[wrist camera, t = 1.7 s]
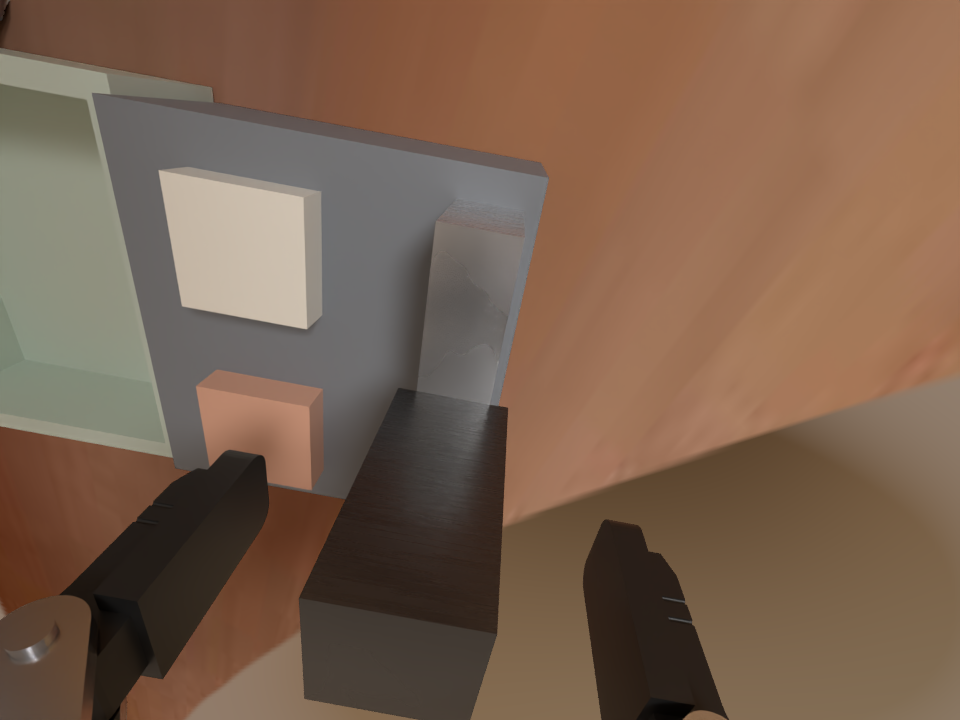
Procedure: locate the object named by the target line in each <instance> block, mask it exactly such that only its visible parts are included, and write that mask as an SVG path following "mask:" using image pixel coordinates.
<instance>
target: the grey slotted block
mask: <svg viewBox="0 0 960 720" xmlns="http://www.w3.org/2000/svg"><path fill="white" fill-rule="evenodd" d="M92 97H93V102H94V106H95V111H96V115H97V120H98V124H99V129H100V133H101V138H102V142H103V147H104V151H105V156H106V160H107V164H108V169H109V173H110V178H111V182H112V187H113V191H114V196H115V200H116V205H117V209H118V214H119V218H120V223H121V227H122V232H123V236H124V241H125V245H126V250H127V254H128V259H129V263H130V268H131V272H132V277H133V281H134V285H135V290H136V294H137V299H138V303H139V308H140V312H141V317H142V321H143V326H144V330H145V335H146V339H147V344H148V348H149V353H150V357H151V362H152V366H153V371H154V375H155V380H156V384H157V389H158V393H159V398H160V402H161V406H162V411H163V415H164V420H165V424H166V429H167V433H168V438H169V442H170V447H171V451H172V456H173V460H174V465H175V468H177V469H182V470H188V471H193V470H195V469H197V468H201V469H206V470H207V469H208V468H209V467H210V465H209V460H208V454H207V448H206V442H205V436H204V431H203V425H202V419H201V413H200V408H199V402H198V396H197V390H196V386H197V385H198V384H199V383H200V382H202V381H203V380H204V379H205V378H207V377H208V376H209V375H210V374H212V373H213V372H214V371H215V370H217V369H218V370H223V371H228V372H234V373H239V374H245V375H250V376H255V377H261V378H266V379H272V380H277V381H283V382H288V383H293V384H299V385H304V386H310V387H315V388H321V389H323V443H324V470H323V472H322V473H321V475H320V477H319V479H318V480H317V482H316V484H315V485H314V487H313V489H312V490H306V489H301V488H295V487H290V486H284V485H279V484H273V483H268V482H267V483H268V485H270V486H275V487H281V488H286V489H291V490H297V491H302V492H308V493H313V494H319V495H324V496H330V497H335V498H341V499H346V498H347V495H348V493H349V491H350V489H351V487H352V485H353V483H354V481H355V478H356V476H357V474H358V472H359V470H360V468H361V466H362V464H363V462H364V459H365V457H366V455H367V453H368V451H369V449H370V447H371V445H372V443H373V440H374V438H375V436H376V434H377V432H378V430H379V428H380V426H381V423H382V421H383V419H384V417H385V415H386V413H387V411H388V409H389V407H390V404H391V402H392V400H393V398H394V396H395V394H396V392H397V390H398V388H403V389H408V390H414V391H417V384H418V375H419V366H420V357H421V348H422V339H423V330H424V321H425V312H426V303H427V295H428V286H429V277H430V268H431V259H432V250H433V241H434V232H435V223H436V221H437V219H438V218H439V217H440V216H441V215H442V214H443V213H444V212H445V211H446V210H447V208H448V207H449V206H450V205H451V204H452V203H453V202H454V201H455V200H456V199H460V200H466V201H471V202H477V203H482V204H487V205H493V206H498V207H503V208H509V209H514V210H520V211H524V229H525V239H524V244H523V249H522V254H521V258H520V263H519V268H518V273H517V277H516V282H515V287H514V292H513V296H512V301H511V306H510V311H509V315H508V320H507V325H506V330H505V334H504V339H503V344H502V349H501V353H500V358H499V363H498V368H497V372H496V377H495V382H494V387H493V391H492V396H491V401H490V405H495V406H498V405H499V400H500V396H501V391H502V387H503V382H504V378H505V373H506V369H507V364H508V360H509V355H510V351H511V346H512V342H513V338H514V333H515V329H516V324H517V320H518V315H519V311H520V306H521V302H522V297H523V293H524V288H525V284H526V279H527V275H528V270H529V266H530V261H531V257H532V252H533V248H534V243H535V239H536V234H537V230H538V225H539V221H540V216H541V212H542V207H543V203H544V198H545V194H546V189H547V185H548V180H549V177H548V175H547V173H546V172H545V170H544V168H543V166H542V164H541V163H539V162H534V161H528V160H523V159H517V158H512V157H507V156H501V155H496V154H491V153H485V152H480V151H475V150H469V149H464V148H458V147H453V146H448V145H442V144H437V143H432V142H426V141H421V140H416V139H410V138H405V137H399V136H394V135H389V134H383V133H378V132H373V131H367V130H362V129H357V128H351V127H346V126H340V125H335V124H330V123H324V122H319V121H314V120H308V119H303V118H298V117H292V116H287V115H281V114H276V113H271V112H265V111H260V110H255V109H249V108H244V107H239V106H233V105H228V104H222V103H212V102H200V101H187V100H175V99H163V98H150V97H138V96H126V95H113V94H101V93H92ZM182 167H192V168H197V169H202V170H208V171H213V172H219V173H224V174H229V175H235V176H240V177H245V178H251V179H256V180H262V181H267V182H272V183H278V184H283V185H288V186H294V187H299V188H305V189H310V190H315V191H321V227H322V316H321V317H320V318H319V319H318V320H317V321H316V322H314V323H313V324H312V325H311V326H310V327H309V328H308V329H302V328H297V327H291V326H286V325H280V324H275V323H269V322H264V321H259V320H253V319H248V318H242V317H237V316H232V315H226V314H221V313H215V312H210V311H205V310H199V309H194V308H188V307H183V306H182V304H181V298H180V292H179V286H178V281H177V275H176V269H175V263H174V257H173V252H172V246H171V240H170V234H169V229H168V223H167V217H166V211H165V205H164V200H163V194H162V188H161V182H160V177H159V171H158V170H165V169H174V168H182Z"/></svg>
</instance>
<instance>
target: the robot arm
mask: <svg viewBox="0 0 960 720" xmlns="http://www.w3.org/2000/svg"><path fill="white" fill-rule="evenodd" d="M268 508H269V495H268V483H267V472H266V461H265V458H264V456H262V455H258V454H252V453H247V452H241V451H236V450H227V451H225V452H224V453H222V454H221V455H220V457H219V458H218V459H217V460H216V461H215V462H214V463H213V464H212V465H211V466H210V467H209V468H208V469H207V470H206V469H201V468H197V469H195V470H193V471H191V472H190V473H188V474H186V475H184V476H183V477H181V478H179V479H178V480H176V481H174V482H172V483H171V484H170V485H169V486H168V487H167V488H166V489H165V490H164V491H163V492H162V493H161V494H160V495H159V496H158V497H157V498H156V499H155V500H154V501H153V505H152V506H149V507H148V508H147V509H146V510H145V511H144V512H143V513H142V514H141V515H140V516H139V517H138V518H137V521H136V522H133V523H132V524H131V525H130V526H129V527H128V528H127V529H126V530H125V531H124V532H123V533H122V534H121V535H120V536H119V537H118V538H117V539H116V540H115V541H114V542H113V543H112V544H111V545H110V546H109V547H108V548H107V549H106V550H105V551H104V552H103V553H102V554H101V555H100V556H99V557H98V558H97V559H96V560H95V561H94V562H93V563H92V564H91V565H90V566H89V567H88V568H87V569H86V570H85V571H84V572H83V573H82V574H81V575H80V576H79V577H78V578H77V579H76V580H75V581H74V582H73V583H72V584H71V585H70V586H69V587H68V588H67V589H66V590H64V591H63V592H62V593H61V594H60V595H58V596H52V597H47V598H44V599H40V600H37V601H34V602H32V603H29V604H27V605H25V606H23V607H20V608H19V609H17V610H15V611H13V612H12V613H10V614H8V615H7V616H5V617H4V618H2V619H1V620H0V720H127V697H126V696H127V694H128V693H129V692H130V690H131V689H132V687H133V686H134V684H135V683H136V682H137V680H138V679H139V677H140V676H141V675H142V676H147V677H153V678H158V679H163V678H164V677H165V675H166V674H167V672H168V671H169V669H170V667H171V666H172V664H173V663H174V661H175V660H176V658H177V657H178V655H179V654H180V652H181V651H182V649H183V648H184V646H185V645H186V643H187V641H188V640H189V638H190V637H191V635H192V634H193V632H194V631H195V629H196V628H197V626H198V625H199V623H200V622H201V620H202V619H203V617H204V615H205V614H206V612H207V611H208V609H209V608H210V606H211V605H212V603H213V602H214V600H215V599H216V597H217V596H218V594H219V593H220V591H221V589H222V588H223V586H224V585H225V583H226V582H227V580H228V579H229V577H230V576H231V574H232V573H233V571H234V570H235V568H236V567H237V565H238V563H239V562H240V560H241V559H242V557H243V556H244V554H245V553H246V551H247V550H248V548H249V547H250V545H251V544H252V542H253V540H254V539H255V537H256V536H257V534H258V533H259V531H260V530H261V528H262V526H263V524H264V522H265V519H266V516H267V513H268ZM583 589H584V597H585V603H586V611H587V619H588V626H589V633H590V640H591V647H592V654H593V662H594V668H595V676H596V683H597V691H598V698H599V705H600V712H601V719H602V720H729V719H728V717H727V715H726V713H725V711H724V708H723V706H722V703H721V700H720V697H719V695H718V692H717V689H716V686H715V683H714V680H713V678H712V675H711V672H710V669H709V666H708V663H707V661H706V658H705V655H704V652H703V649H702V647H701V644H700V641H699V638H698V635H697V632H696V629H695V627H694V626H693V625H692V618H691V615H690V612H689V610H688V607H687V605H685V598H684V595H683V593H682V590H681V587H680V584H679V581H678V579H677V576H676V574H675V573H674V572H673V570H672V569H671V568H670V566H669V565H668V563H667V562H666V561H665V559H664V558H663V557H662V555H661V554H659V553H653V552H648V549H647V546H646V542H645V539H644V536H643V533H642V530H641V528H640V527H639V526H638V525H634V524H628V523H623V522H617V521H612V520H604V521H603V523H602V524H601V527H600V529H599V531H598V534H597V536H596V539H595V541H594V543H593V546H592V548H591V551H590V553H589V555H588V558H587V560H586V563H585V568H584V575H583Z"/></svg>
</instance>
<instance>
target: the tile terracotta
mask: <svg viewBox="0 0 960 720" xmlns="http://www.w3.org/2000/svg"><path fill="white" fill-rule="evenodd" d="M196 390H197V396H198V402H199V408H200V413H201V419H202V425H203V431H204V436H205V442H206V448H207V454H208V460H209V465H210V466H211V465H212V464H213V463H214V462H215V461H216V460H217V459H218V458H219V457H220V455H221V454H222V453H224V452H225V451H227V450H236V451H241V452H247V453H252V454H258V455H262V456H264V458H265V461H266V472H267V482H268V483H273V484H279V485H284V486H290V487H295V488H301V489H306V490H312V489H313V487H314V485H315V484H316V482H317V480H318V479H319V477H320V475H321V473H322V472H323V470H324V443H323V389H321V388H315V387H310V386H304V385H299V384H293V383H288V382H283V381H277V380H272V379H266V378H261V377H255V376H250V375H245V374H239V373H234V372H228V371H223V370H218V369H217V370H215V371H214V372H213V373H212V374H210V375H209V376H208V377H207V378H205V379H204V380H203V381H202V382H200V383H199V384H198V385H197V386H196Z"/></svg>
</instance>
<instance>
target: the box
mask: <svg viewBox="0 0 960 720" xmlns="http://www.w3.org/2000/svg"><path fill="white" fill-rule="evenodd" d="M92 93H101V94H113V95H126V96H138V97H150V98H163V99H175V100H187V101H200V102H212V103H214V101H213V92H212V87H208V86H202V85H197V84H191V83H186V82H181V81H175V80H170V79H165V78H159V77H154V76H149V75H143V74H138V73H133V72H127V71H122V70H116V69H111V68H106V67H100V66H95V65H90V64H84V63H79V62H74V61H68V60H63V59H57V58H52V57H47V56H41V55H36V54H31V53H25V52H20V51H15V50H9V49H4V48H0V426H2V427H8V428H13V429H18V430H24V431H29V432H35V433H40V434H46V435H51V436H57V437H62V438H67V439H73V440H78V441H84V442H89V443H95V444H100V445H106V446H111V447H116V448H122V449H127V450H133V451H138V452H144V453H149V454H155V455H160V456H166V457H171V458H173V456H172V451H171V447H170V442H169V438H168V433H167V429H166V424H165V420H164V415H163V411H162V406H161V402H160V398H159V393H158V389H157V384H156V380H155V375H154V371H153V366H152V362H151V357H150V353H149V348H148V344H147V339H146V335H145V330H144V326H143V321H142V317H141V312H140V308H139V303H138V299H137V294H136V290H135V285H134V281H133V277H132V272H131V268H130V263H129V259H128V254H127V250H126V245H125V241H124V236H123V232H122V227H121V223H120V218H119V214H118V209H117V205H116V200H115V196H114V191H113V187H112V182H111V178H110V173H109V169H108V164H107V160H106V156H105V151H104V147H103V142H102V138H101V133H100V129H99V124H98V120H97V115H96V111H95V106H94V102H93V97H92Z"/></svg>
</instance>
